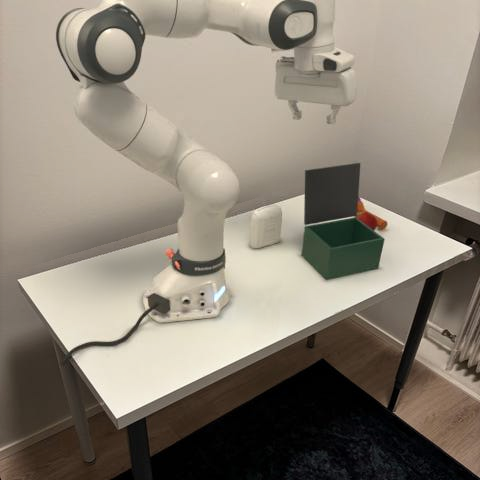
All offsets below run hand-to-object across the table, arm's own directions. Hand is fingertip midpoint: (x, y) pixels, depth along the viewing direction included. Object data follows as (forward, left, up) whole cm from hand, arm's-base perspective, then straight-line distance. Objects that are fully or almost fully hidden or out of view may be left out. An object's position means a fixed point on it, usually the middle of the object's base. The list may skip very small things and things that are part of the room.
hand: (313, 121), depth 121 cm
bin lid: (+13, +6, -23) cm, 27 cm away
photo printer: (-3, +16, -41) cm, 45 cm away
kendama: (+37, +21, -41) cm, 59 cm away
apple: (+29, +10, -41) cm, 51 cm away
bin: (+13, -2, -41) cm, 43 cm away
